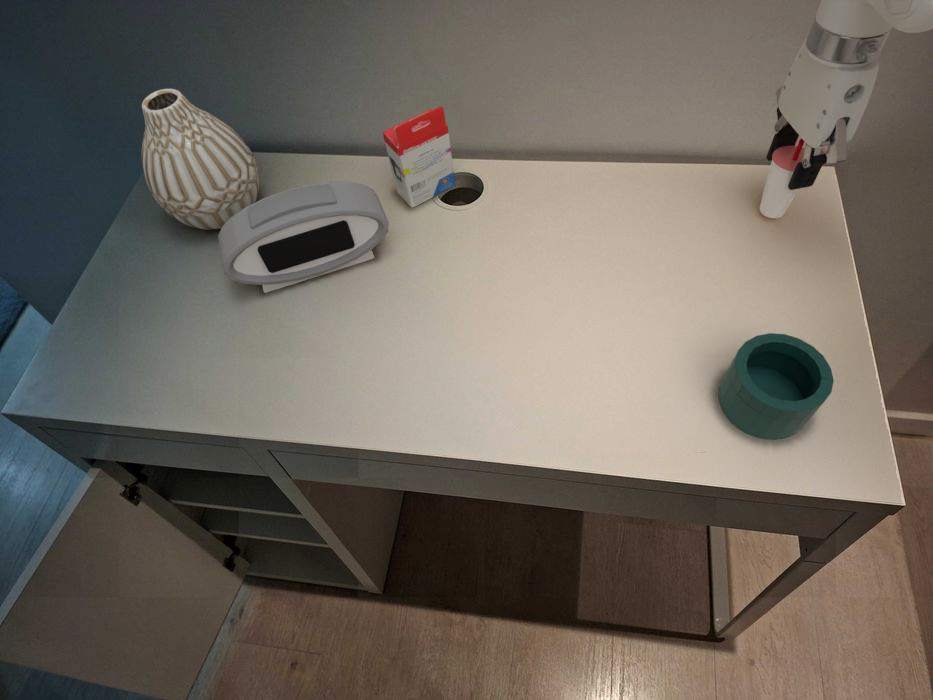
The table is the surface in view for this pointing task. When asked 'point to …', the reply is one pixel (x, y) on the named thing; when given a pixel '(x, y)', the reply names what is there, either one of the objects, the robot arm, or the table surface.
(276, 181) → the table surface
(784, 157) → the cup
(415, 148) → the ink box
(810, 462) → the table surface
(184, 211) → the vase
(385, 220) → the alarm clock
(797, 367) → the teal pot
